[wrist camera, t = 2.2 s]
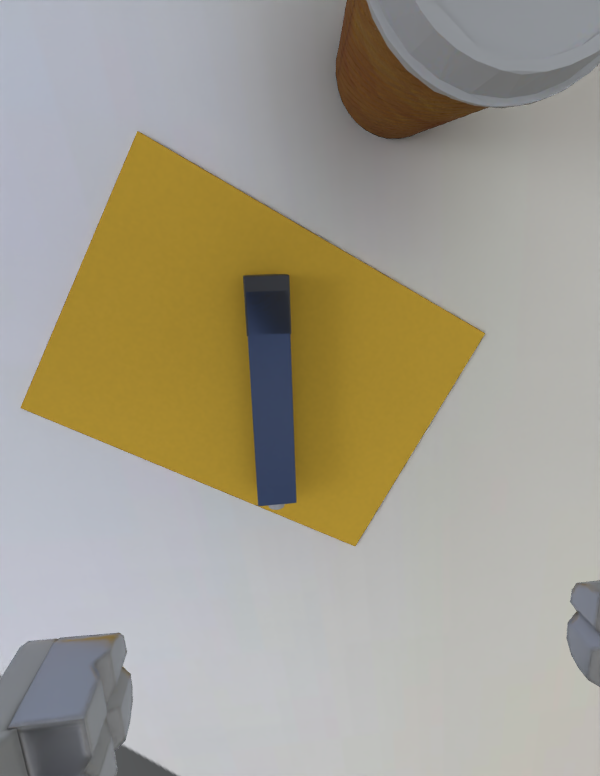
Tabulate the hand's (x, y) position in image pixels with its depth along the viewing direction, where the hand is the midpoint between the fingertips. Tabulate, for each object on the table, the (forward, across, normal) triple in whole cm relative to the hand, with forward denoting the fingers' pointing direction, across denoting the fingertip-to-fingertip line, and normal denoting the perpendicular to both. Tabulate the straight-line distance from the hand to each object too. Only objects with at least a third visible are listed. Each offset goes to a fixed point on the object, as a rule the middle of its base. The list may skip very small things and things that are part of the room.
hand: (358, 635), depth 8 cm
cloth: (+20, +1, -1) cm, 20 cm away
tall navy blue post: (+19, +1, 0) cm, 19 cm away
